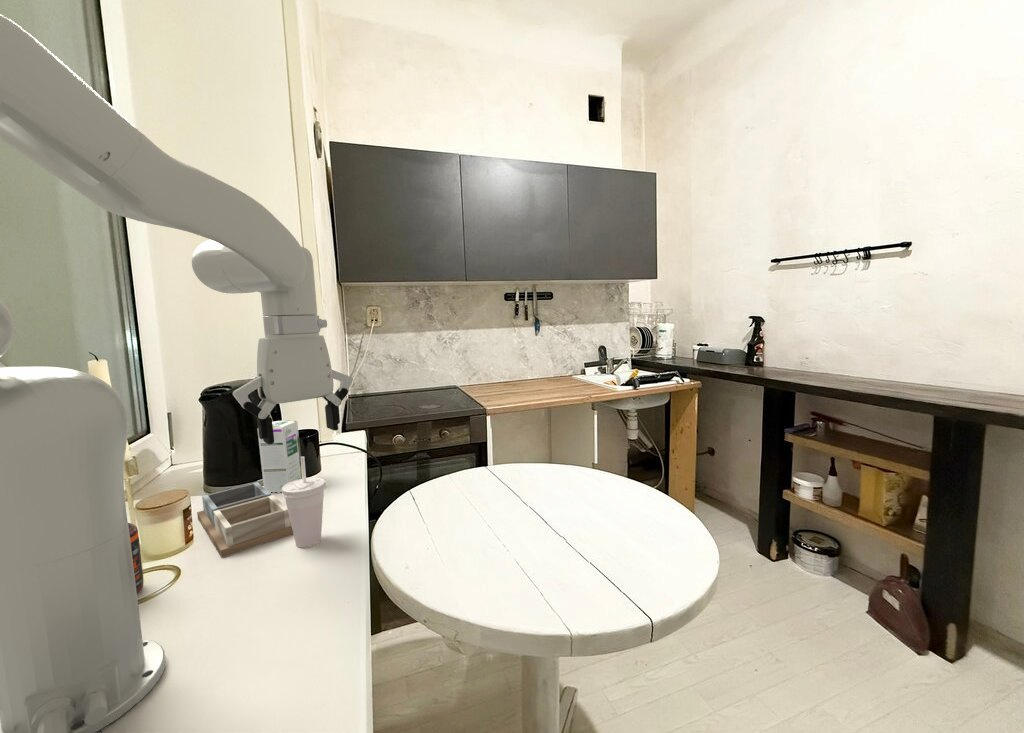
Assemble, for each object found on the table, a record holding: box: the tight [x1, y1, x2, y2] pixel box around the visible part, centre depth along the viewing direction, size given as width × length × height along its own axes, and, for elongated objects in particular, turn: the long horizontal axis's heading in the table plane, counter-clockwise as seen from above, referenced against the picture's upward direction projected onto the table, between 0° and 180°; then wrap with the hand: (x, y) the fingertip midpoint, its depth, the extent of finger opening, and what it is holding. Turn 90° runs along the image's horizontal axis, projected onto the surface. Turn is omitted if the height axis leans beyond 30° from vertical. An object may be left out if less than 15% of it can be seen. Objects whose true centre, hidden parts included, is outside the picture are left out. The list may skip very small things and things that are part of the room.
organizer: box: [196, 481, 294, 559], centre depth 76 cm, size 20×11×4 cm, turn 45°
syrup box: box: [257, 419, 302, 492], centre depth 93 cm, size 6×6×14 cm
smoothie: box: [281, 456, 327, 549], centre depth 69 cm, size 6×6×14 cm
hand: (302, 435), depth 68 cm, fingers open, 9 cm apart
